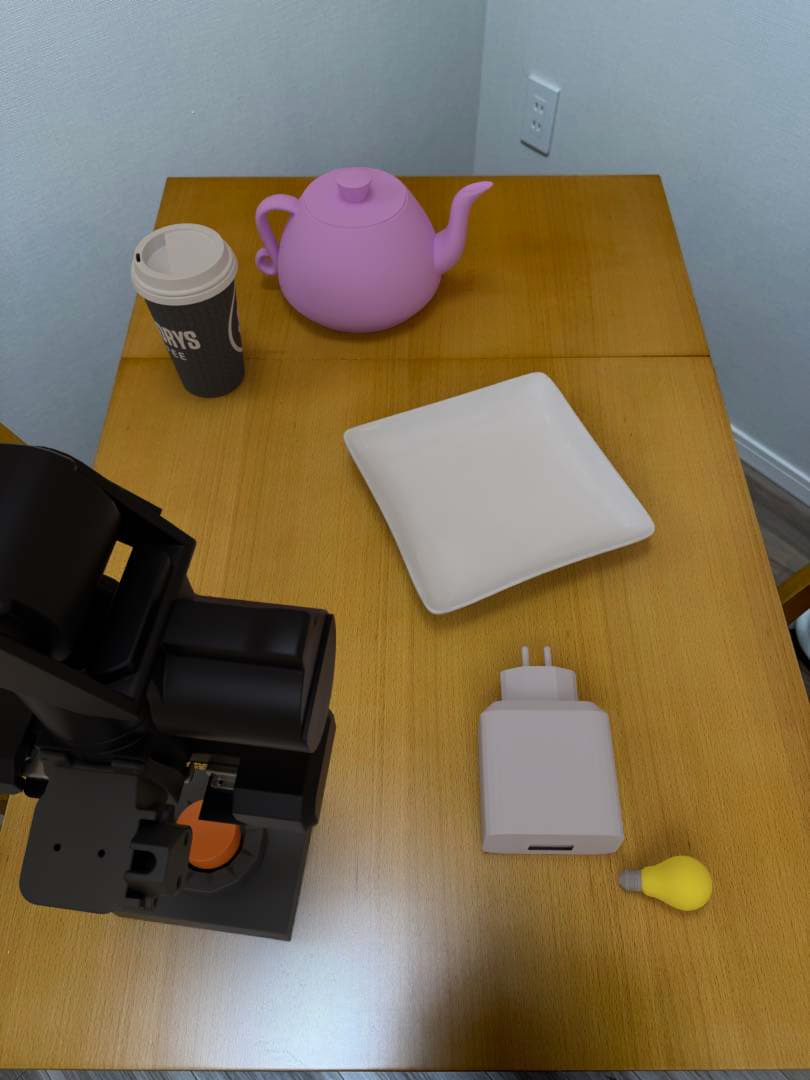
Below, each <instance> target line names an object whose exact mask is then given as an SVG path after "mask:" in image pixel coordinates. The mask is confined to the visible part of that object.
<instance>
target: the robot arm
mask: <svg viewBox="0 0 810 1080" xmlns="http://www.w3.org/2000/svg"><path fill="white" fill-rule="evenodd" d="M162 512H163V508H162V507H159V506H158V505H156V504H154V503H153V502H150V501H148V500H147V499H144V498H143V497H141V496H139V495H137V494H136V493H134V492H132V491H130V490H128V489H126V488H124V487H122V486H121V485H119V484H117V483H115V482H113V481H112V480H110V479H108V478H106V477H105V476H104V475H102V474H101V473H99V472H98V471H96V470H95V469H93V468H92V467H91V466H89V465H87V464H86V463H84V461H81V460H79V459H78V458H76V457H74V456H72V455H71V454H69V453H66V452H65V451H60V450H58V449H55V448H52V447H47V446H45V445H31V444H25V443H17V442H16V443H15V442H0V794H4V795H11V796H15V795H17V794H20V793H23V794H24V795H25V796H26V797H28V798H31V799H37V801H36V804H35V806H34V810H33V813H32V818H31V822H30V826H29V831H28V836H27V840H26V841H27V842H26V846H25V851H24V855H23V859H22V864H21V868H20V873H19V879H18V887H19V891H20V894H21V897H23V899H24V900H25V901H26V902H28V903H29V904H32V905H35V906H40V907H48V908H53V909H54V908H55V909H61V910H68V911H76V912H82V913H87V914H88V913H90V914H96V915H106V914H111V913H112V912H113V911H116V910H118V909H120V908H121V909H128V910H135V911H142V912H149V913H154V912H155V911H156V909H157V907H158V904H159V899H160V896H168V897H171V896H174V895H176V894H178V893H179V892H180V891H181V890H182V888H183V885H184V883H185V880H186V874H187V868H188V862H189V856H190V851H191V845H192V839H193V832H192V828H191V826H190V825H183V824H178V823H176V821H175V819H174V815H175V806H174V805H178V803H179V800H180V796H181V793H182V789H183V786H184V783H189V782H191V780H192V779H193V775H194V772H195V769H196V766H195V764H201V765H206V767H205V770H206V773H207V775H208V776H209V780H208V784H207V788H206V791H205V795H204V799H203V803H202V806H201V810H200V814H199V817H198V820H204V821H211V822H219V823H226V824H234V825H243V826H244V825H251V826H254V827H261V828H269V829H277V830H284V831H292V832H300V833H306V832H307V831H309V830H310V829H311V828H312V829H313V828H314V827H315V826H317V825H319V822H320V816H321V811H322V807H323V806H322V805H323V800H324V796H325V791H326V785H327V780H328V775H329V769H330V762H331V758H332V753H333V748H334V747H333V746H334V742H335V738H336V737H335V736H336V731H337V724H336V719H335V715H334V713H333V711H332V710H331V709H330V705H331V698H332V693H333V686H334V677H335V670H336V668H335V666H336V657H337V625H336V617H335V614H334V613H330V612H329V611H328V609H327V608H318V607H309V606H300V605H292V604H283V603H273V602H265V601H256V600H247V599H237V598H228V597H220V596H210V595H204V594H203V595H202V594H198V593H196V592H195V590H194V589H193V587H192V584H191V582H190V579H189V576H188V571H189V568H190V566H191V562H192V559H193V557H194V554H195V550H196V548H197V545H198V542H197V540H196V539H195V538H194V537H192V536H191V535H190V534H188V533H187V532H186V531H184V530H182V529H181V528H179V527H178V526H176V525H175V524H173V523H172V522H171V521H169V520H168V519H166V518H165V517H164V516H162ZM117 542H119V543H121V544H124V545H126V546H129V547H131V551H130V554H129V555H128V559H127V561H126V564H125V567H124V569H123V572H122V573H121V577H120V578H119V579H120V580H119V581H118V580H117V579H115V578H114V577H112V576H109V575H107V574H105V571H106V568H107V566H108V564H109V561H110V559H111V556H112V553H113V551H114V549H115V547H116V544H117ZM188 763H189V765H188Z"/></svg>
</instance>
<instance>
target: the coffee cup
mask: <svg viewBox="0 0 810 1080" xmlns="http://www.w3.org/2000/svg"><path fill="white" fill-rule="evenodd" d="M238 262H239V261H238V257H237V256H236V254H235V252H234V250H233V249H232V247H231V246H230V245H229V244H228V242H227V241H225V240H224V239H223V238H222V236H221V235H220V234H219V233H218V232H217V231H215V229H213V228H211V227H208V226H206V225H203V224H198V223H189V222H188V223H186V222H185V223H176V224H175V223H174V224H169V225H167V226H162V227H160V228H158V229H155V230H154V231H152V232H150V233H148V234H147V235H145V236H144V237H143V238H142V239H141V240H139V242H138V244H137V245H136V247H135V249H134V252H133V259H132V261H131V266H130V283H131V285H132V287H133V289H134V291H135V292H136V293H137V294H138V295H139V296H141V297H142V298H143V299H144V301H145V304H146V306H147V309H148V311H149V313H150V315H151V317H152V319H153V321H154V323H155V326H156V329H157V330H158V333H159V335H160V336H161V339H162V341H163V344H164V346H165V348H166V351H167V353H168V355H169V357H170V359H171V362H172V364H173V366H174V369H175V370H176V373H177V375H178V377H179V380H180V382H181V385H182V387H184V389H185V390H186V391H187V392H188V393H190V394H191V395H194V396H196V397H200V398H209V399H211V398H219V397H222V396H225V395H227V394H230V393H232V392H234V391H235V390H236V389H238V387H240V385H241V384H242V383H243V381H244V379H245V375H246V368H245V359H244V350H243V341H242V333H241V325H240V316H239V307H238V300H237V289H236V281H235V278H236V275H237V273H238V270H239V263H238Z"/></svg>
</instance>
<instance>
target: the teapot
mask: <svg viewBox="0 0 810 1080" xmlns="http://www.w3.org/2000/svg"><path fill="white" fill-rule="evenodd" d="M493 185H494V182H492V181H489V180H488V181H487V180H485V181H478V182H474V183H471V184H467V185H466V186H464V187H462V188H461V189H460V190H459V191H457V193H456V194H455V195H454V198H453V199H452V202H451V205H450V211H449V220H448V223H447V225H446V227H445V228H443V229H441V230H440V231H438V232H436V231H435V229H434V227H433V224H432V222H431V220H430V218H429V217H428V215H427V213H426V211H425V210H424V208H423V207H422V205H421V204H420V202H418V200H417V199H416V198H415V196H414V195H413V193H412V191H410V189H409V188H408V187H407V186H406V184H405V183H403V182H402V181H401V180H400V179H399V178H398V177H396V176H395V175H393V174H391V173H389V172H386V171H384V170H381V169H378V168H373V167H365V166H364V167H363V166H350V167H344V168H343V167H342V168H338V169H334V170H331V171H328V172H326V173H323V174H322V175H320V176H318V177H316V178H315V179H314V180H313V181H311V183H309V185H308V186H307V187H306V188H305V190H303V192H302V194H301V195H300V197H299V198H297V197H295V196H293V195H289V194H285V193H278V194H273V195H270V196H267V197H265V198H264V199H263V200H261V202H260V203H259V204H258V206H257V208H256V211H255V215H254V218H255V226H256V230H257V233H258V235H259V237H260V240H261V242H262V243H263V245H264V246H263V247H261V248H259V249H258V250H257V252H256V254H255V255H254V262H255V267H256V268H257V269H258V270H259V272H261V273H262V274H264V275H266V276H271V277H274V276H277V277H278V283H279V287H280V291H281V292H282V294H283V296H284V297H285V299H286V301H287V302H288V303H289V304H290V305H291V307H292V308H293V309H295V310H296V311H297V312H298V313H299V314H301V315H302V316H304V317H305V318H306V319H308V320H310V321H312V322H313V323H315V324H317V325H320V326H322V327H324V328H327V329H330V330H333V331H336V332H342V333H348V334H349V333H350V334H368V333H369V334H370V333H376V332H380V331H385V330H389V329H391V328H394V327H397V326H399V325H400V324H402V323H404V322H406V321H407V320H409V319H411V318H412V317H413V316H415V315H416V314H417V313H419V312H420V311H421V310H422V309H423V308H424V307H425V306H426V305H427V304H428V303H430V301H431V300H432V298H433V297H434V296H435V294H436V293H437V291H438V288H439V287H440V283H441V281H442V275H443V274H445V273H447V272H448V271H450V270H451V269H452V268H453V267H454V266H456V264H457V263H458V262H459V260H460V258H461V257H462V255H463V253H464V250H465V246H466V243H467V242H466V241H467V236H468V223H469V217H470V211H471V209H472V206H473V204H474V203H475V201H476V200H477V199H478V198H479V197H480V196H481V195H483V194H484V193H485V192H487V191H488V190H489V189H490V188H492V187H493ZM273 211H283V212H287V213H290V215H289V217H288V218H287V221H286V223H285V225H284V228H283V231H282V234H281V237H280V241H279V243H278V240H277V238H276V236H275V234H274V232H273V230H272V228H271V225H270V223H269V219H268V213H269V212H273ZM266 257H268V258H270V259H271V260H269V259H268V258H266Z"/></svg>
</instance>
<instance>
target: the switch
mask: <svg viewBox="0 0 810 1080" xmlns="http://www.w3.org/2000/svg"><path fill="white" fill-rule="evenodd" d="M202 803H203V800H200V801H197V802H195V803H193V804H191V805H190V806H188V807H187V808H186V809H185V810H184V811H183V812H182V813H181V815H180V816H179V818H178V820H177V823H178V824H183V825H190V826H191V828H192V832H193V839H192V845H191V851H190V856H189V862H190V863H191V864H192V865H194V866H196V867H198V868H202V869H213V868H217V867H219V866H221V865H223V864H225V863H226V862H228V861H229V860H230V859H231V858H232V857H233V856H234V854H235V853H236V851H237V850H238V847H239V845H240V841H241V828H240V825H234V824H226V823H219V822H211V821H204V820H198V817H199V814H200V810H201V806H202Z"/></svg>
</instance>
